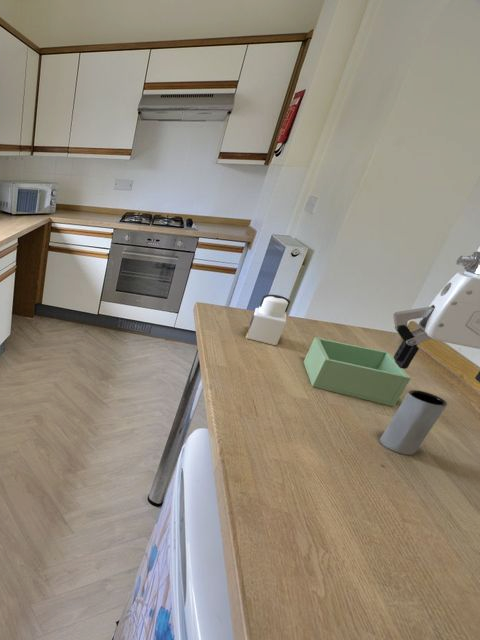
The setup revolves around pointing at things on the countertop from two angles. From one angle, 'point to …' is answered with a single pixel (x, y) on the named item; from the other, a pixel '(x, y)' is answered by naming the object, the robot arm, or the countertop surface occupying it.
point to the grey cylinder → (412, 422)
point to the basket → (355, 371)
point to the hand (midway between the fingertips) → (439, 374)
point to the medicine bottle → (268, 320)
